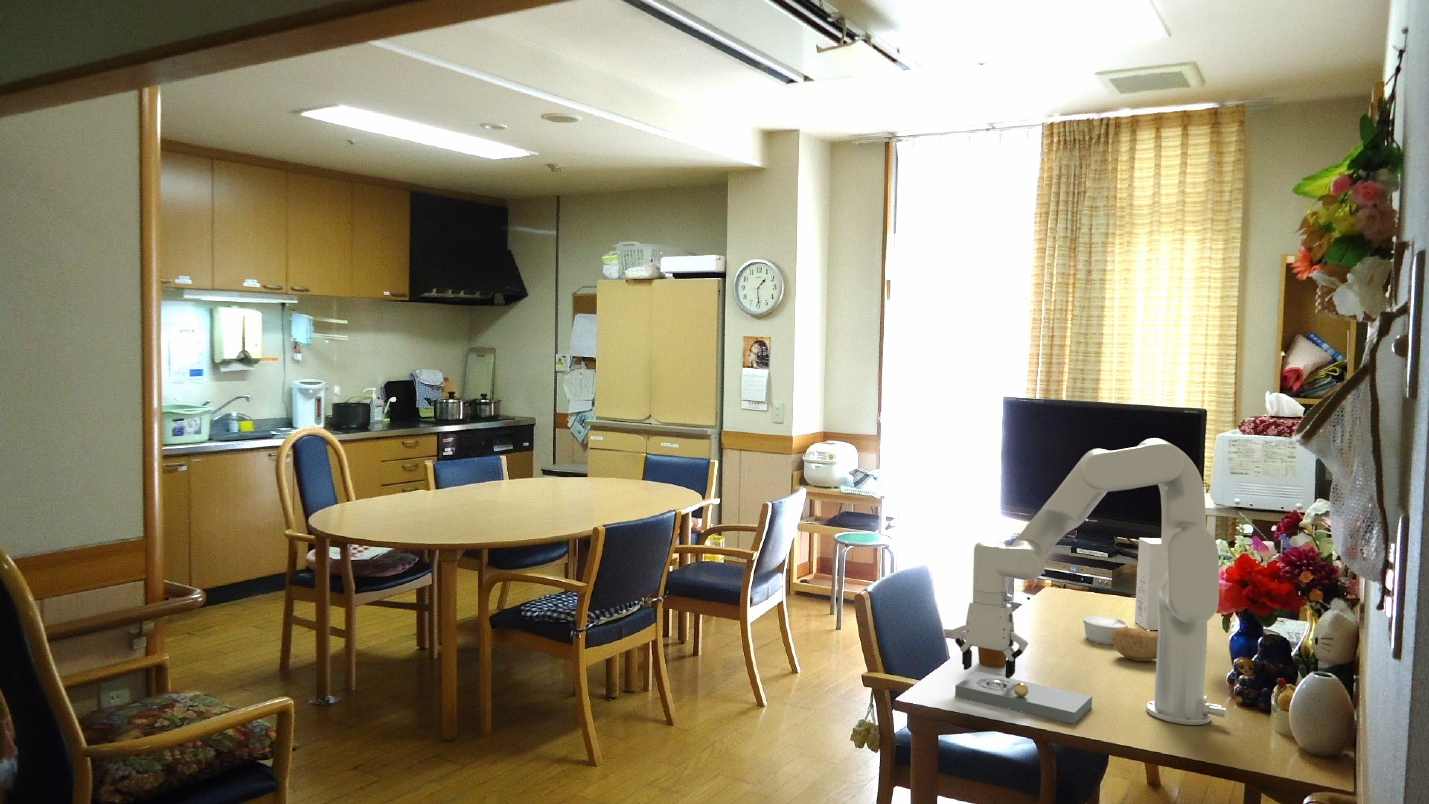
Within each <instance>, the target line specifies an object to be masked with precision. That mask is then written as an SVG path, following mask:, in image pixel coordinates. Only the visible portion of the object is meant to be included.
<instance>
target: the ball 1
mask: <svg viewBox="0 0 1429 804" xmlns="http://www.w3.org/2000/svg"><path fill="white" fill-rule="evenodd" d="M988 686H990V687H994V688H1004V686H1003V684H1002V683H1001V682H1000V681H998V680H993V681H991V682H990V683H989V684H988Z"/></svg>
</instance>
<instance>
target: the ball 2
mask: <svg viewBox="0 0 1429 804" xmlns="http://www.w3.org/2000/svg"><path fill="white" fill-rule="evenodd" d="M1014 693H1015V694H1016V695H1017V696H1018V697H1025V696H1026V695H1027V694H1028V687H1027V686H1026V685H1025V684H1023V683H1018V684H1016V685H1015V687H1014Z"/></svg>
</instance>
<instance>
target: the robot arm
mask: <svg viewBox="0 0 1429 804" xmlns="http://www.w3.org/2000/svg"><path fill="white" fill-rule="evenodd" d="M1156 485H1157V486H1158V489H1159V494H1160V504H1161V537H1160V539H1161V545H1162V549H1163V551H1164V553H1165V554H1166V555H1167V556H1168V572H1167V573H1166V574H1165V575H1164V576H1163V577H1162V579H1161V581H1160V584H1159V588H1158V616H1159V618H1158V631H1157V632H1158V641H1157V659H1155V660H1156V663H1155V680H1154V681H1155V684H1154V685H1155V686H1154V700H1151V701H1148V702H1147V703H1146V707H1145V710H1146V712H1147V713H1149V715H1150V716H1153V717H1155V718H1156V719H1160V720H1161V721H1166V722H1169V723H1172V724H1173V723H1174V724H1178V725H1187V726H1188V725H1189V726H1200V725H1206V724H1208V723H1210V722H1211V719H1212V716H1215V717H1217V718H1223V719H1226V717H1227V708H1223V707H1222V705H1220V704H1215V703H1210V701H1208V695H1205V680H1206V679H1205V678H1206V662H1207V661H1206V660H1207V647H1208V643H1207V642H1208V621H1210V620H1211V619H1212V618H1213V617H1214V616H1215V615H1216V613H1217V611H1218V607H1219V602H1220V557H1219V549H1218V544H1217V541H1216V539H1215V537H1214V536H1213V535H1212V533H1211V532H1210V531H1209V530H1208V529H1207V513H1206V511H1207V510H1206V500H1205V499H1206V496H1205V488H1204V483H1203V479H1202V476H1201V473H1200V472H1199V469H1198V468H1197V466H1196V465H1195V464H1194V462H1193V460H1192V459H1191V458H1190V457H1189V456H1188V455H1187V454H1186V453H1185V452H1184V451H1183V450H1181V449H1180V448H1179V447H1178V446H1176V445H1175V444H1172V443H1170V442H1168V441H1166V440H1165V439H1161V438H1158V437H1157V438H1156V437H1153V438H1146V439H1145V440H1143V441H1141V442H1140V443H1139V444H1138V445H1137V446H1134V447H1128V448H1122V449H1116V450H1108V449H1103V448H1093V449H1091V450H1088V451H1087V452H1086V453H1085V454H1084V455H1083V456H1081V458H1080V460H1079V461H1078V462H1077V463H1076V465H1075V466H1074V467H1073V469H1072V470H1071V471H1070V472H1069V474H1068V475H1067V476H1066V478H1065V479H1064V480H1063V481H1062V483H1061V484H1060V485H1059V486H1058V487H1057V489H1056V490H1055V492H1054V493H1053V494H1052V495H1051V496H1050V498H1048V500H1047V501H1046V502H1045V503H1044V504H1043V506H1042V507H1041V508H1040V510H1039V511H1038V512H1037V513H1036V515H1034V517H1033V518H1032V519H1031V520H1030V521H1029V522H1028V524H1027V525H1026V526H1025V528H1024V529H1023V530H1022V531H1021V532H1020V534H1018V537H1017V538H1015V540H1014V542H1013V543H1012V544H1011V546H1007V544H1005V543H1002V542H999V541H980V542H977V543H976V544H975V545H974V547H973V574H972V576H973V577H972V600H970V601H969V604H968V609H967V614H966V621H965V624H964V625H961V626H959V627H955V628H953V629H951V634H952V636H953V639H954V640H955V641H954V642H955V644H956V645H957V646H958V647H959V649H960V652H962V655H961V657H962V659H961V663H962V664H961V665H963V670H965V671H968V670H969V669H970V668H971V667H973V665H972V664H973V663H972V661H973V651H972V649H971V648H972V647H977V648H978V647H982V648H987V649H992V650H998V651H1003V652H1004V654H1005V655H1006V657H1007V659H1006V665H1005V667H1004V668H1005V670H1004V673H1005V675H1004V677H1006V678H1008V679H1009V678H1012V677H1013V676H1014V675H1015V673H1016V659H1017V658H1019V657H1020V656H1021V655H1023V653H1024V652H1025V650H1027V649H1026V648H1027V647H1028V645H1029V642H1028V641H1027V640H1026V639H1024V638H1023V637H1021V636H1019V634H1017V633H1015V622H1014V616H1013V615H1014V614H1013V609H1012V604H1010V603H1011V602H1012V603H1013V602H1014V599H1015V598H1014V595H1011V594H1010V592H1009V590H1008V587H1009V578H1012V579H1017V580H1021V581H1022V580H1023V581H1033V580H1036V579H1039V578H1040V576H1042V574H1043V573H1044V571H1045V568H1046V562H1045V558H1046V557H1047V556H1048V555H1049V553H1050V552H1051V551H1052V549H1053V548H1054V547H1055V546H1056V544H1057V543H1058V542H1059V541H1060V540H1061V539H1062V538H1063V537H1064V536H1065V535H1066V534H1067V533H1069V532H1070V531H1072V530H1074V529H1076V528H1078V527H1079V526H1080V525H1081V524H1083V523H1084V522H1085V520H1087V518H1088V516H1090V514H1091V513H1092V511H1094V509H1095V508H1096V506H1098V504H1099V503H1100V501H1101V500H1103V498H1104V497H1105V496H1106V494H1107V493H1108V492H1118V491H1126V490H1132V489H1137V488H1143V487H1149V486H1151V487H1152V486H1156ZM1009 602H1010V603H1009ZM961 633H964V639H965V640H964V639H963V638H962V636H961ZM1015 643H1016V644H1018V647H1017V649H1016V650H1014V648H1013V647H1014V645H1015Z"/></svg>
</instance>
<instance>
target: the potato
mask: <svg viewBox="0 0 1429 804" xmlns="http://www.w3.org/2000/svg"><path fill="white" fill-rule="evenodd" d="M1111 641H1112V643H1113V645H1112V646H1113V647H1114V648H1115V650H1116V651H1117V652H1118V653H1119V654H1120V655H1122V656H1123V657H1125V658H1126V659H1130V660H1132V661H1134V662H1135V661H1136V662H1149V661H1153V660H1157V641H1158V631H1147V630H1145V629H1144V628H1134V627H1133V628H1132V627H1128V628H1127V627H1119V628H1117V629H1115V630H1114V631H1113V633H1112V635H1111Z"/></svg>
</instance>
